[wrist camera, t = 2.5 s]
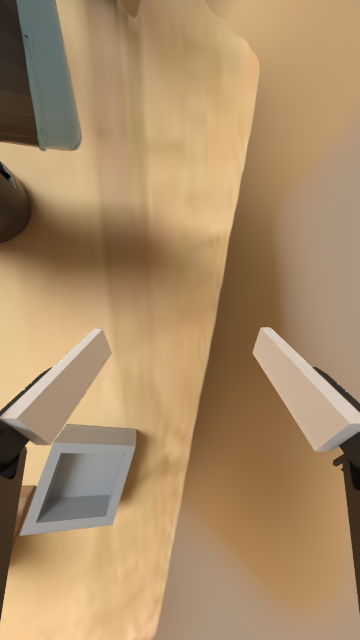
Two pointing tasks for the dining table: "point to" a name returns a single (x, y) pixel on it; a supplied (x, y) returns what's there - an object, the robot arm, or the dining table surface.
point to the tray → (81, 479)
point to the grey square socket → (22, 506)
